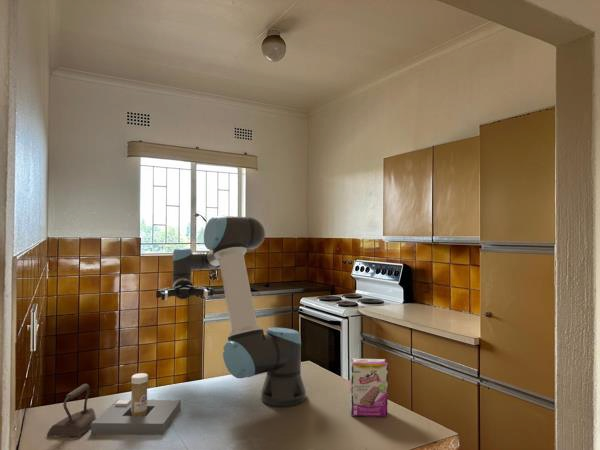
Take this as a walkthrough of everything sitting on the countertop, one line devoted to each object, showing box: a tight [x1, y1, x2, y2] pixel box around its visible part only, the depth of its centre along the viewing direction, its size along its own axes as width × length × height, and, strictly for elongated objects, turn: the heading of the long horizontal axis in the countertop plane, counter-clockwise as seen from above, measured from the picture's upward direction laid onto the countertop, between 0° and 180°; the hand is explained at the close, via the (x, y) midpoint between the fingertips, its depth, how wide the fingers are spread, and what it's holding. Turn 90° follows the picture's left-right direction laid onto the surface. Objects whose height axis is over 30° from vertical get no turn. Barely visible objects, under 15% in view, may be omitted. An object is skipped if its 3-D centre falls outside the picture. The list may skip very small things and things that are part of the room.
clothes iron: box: [46, 383, 97, 439], centre depth 116 cm, size 14×10×11 cm
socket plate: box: [90, 399, 182, 436], centre depth 119 cm, size 20×16×4 cm
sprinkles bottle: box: [130, 372, 149, 416], centre depth 119 cm, size 5×5×14 cm
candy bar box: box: [349, 357, 389, 418], centre depth 125 cm, size 11×5×16 cm, turn 89°
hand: (187, 296), depth 140 cm, fingers open, 13 cm apart
